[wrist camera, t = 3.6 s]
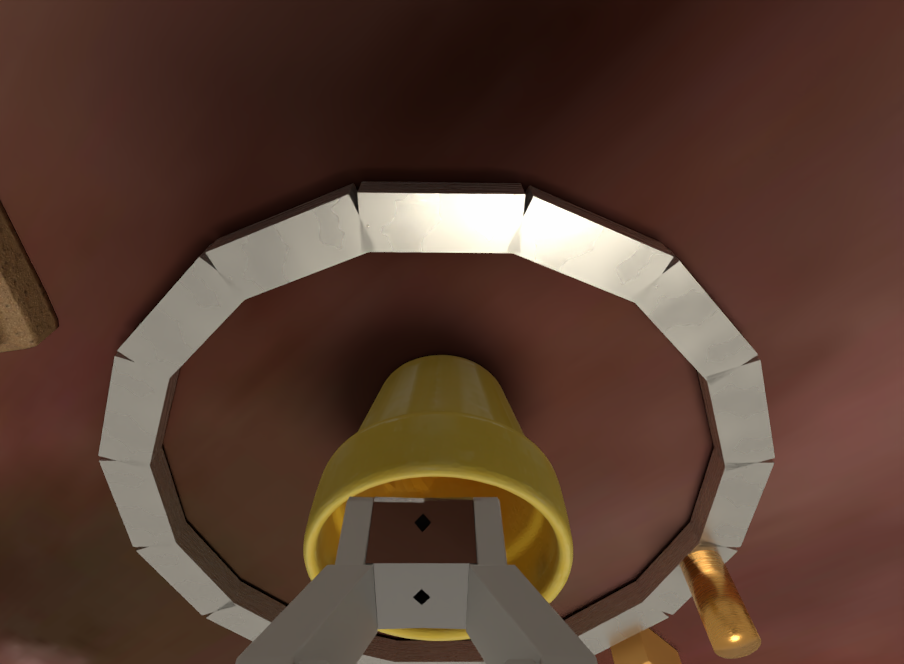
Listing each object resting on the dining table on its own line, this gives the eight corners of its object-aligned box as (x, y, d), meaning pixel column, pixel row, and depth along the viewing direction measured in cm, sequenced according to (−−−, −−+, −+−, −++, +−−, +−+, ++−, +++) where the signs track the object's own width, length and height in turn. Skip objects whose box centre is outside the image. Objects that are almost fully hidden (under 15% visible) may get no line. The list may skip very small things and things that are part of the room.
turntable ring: (15, 177, 24) (-115, 237, 18) (857, 186, 25) (979, 247, 19) (195, 661, 42) (157, 765, 36) (679, 660, 43) (714, 762, 37)
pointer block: (606, 631, 41) (617, 675, 38) (635, 617, 40) (648, 660, 38) (648, 663, 43) (661, 707, 41) (677, 651, 42) (692, 694, 40)
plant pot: (399, 500, 34) (384, 669, 26) (302, 369, 29) (245, 525, 21) (566, 441, 32) (610, 605, 24) (491, 289, 27) (512, 427, 19)
